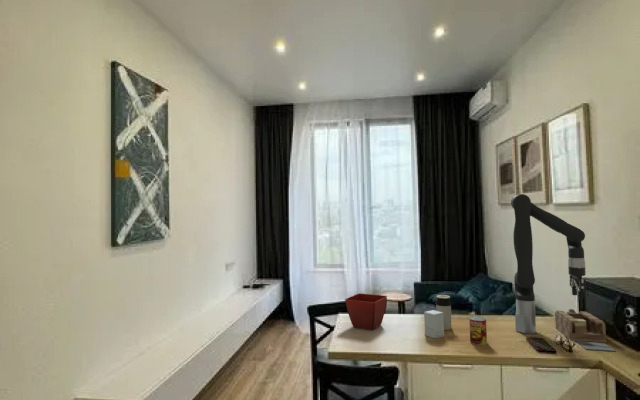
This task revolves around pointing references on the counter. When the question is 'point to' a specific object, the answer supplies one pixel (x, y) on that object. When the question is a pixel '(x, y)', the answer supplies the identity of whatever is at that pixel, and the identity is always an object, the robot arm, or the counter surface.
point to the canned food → (478, 330)
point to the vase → (571, 311)
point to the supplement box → (434, 324)
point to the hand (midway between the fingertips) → (577, 296)
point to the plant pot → (366, 310)
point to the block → (580, 325)
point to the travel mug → (444, 309)
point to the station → (592, 333)
